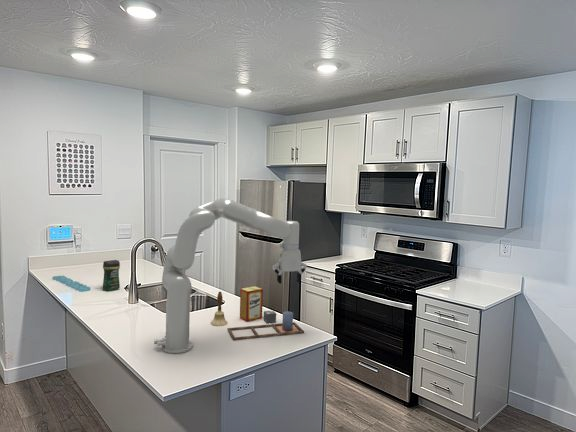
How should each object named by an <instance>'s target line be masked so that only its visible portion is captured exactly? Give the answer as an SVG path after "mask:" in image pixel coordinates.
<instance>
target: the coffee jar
mask: <svg viewBox="0 0 576 432" xmlns="http://www.w3.org/2000/svg"><path fill="white" fill-rule="evenodd" d="M102 265H103V266H102V269H103V281H102V290H103V291H105V292H110V291H111V292H112V291H117V290H120V286H121V284H120V271H119V270H120V268H121V264H120V260H117V259H113V260H104V261H103V264H102Z"/></svg>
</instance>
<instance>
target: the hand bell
mask: <svg viewBox="0 0 576 432" xmlns="http://www.w3.org/2000/svg"><path fill="white" fill-rule="evenodd" d="M216 301H217V311H215V313H214V317H213V319H212V320H211V321H210V325H211V326H214V327H222V326H223V327H224V326H226V325H228V321H227V320H226V317H225V312H224V311H222V303H223V294H222V291H218V294H217V299H216Z"/></svg>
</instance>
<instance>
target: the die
mask: <svg viewBox="0 0 576 432" xmlns="http://www.w3.org/2000/svg"><path fill="white" fill-rule="evenodd" d="M263 322H264V323H265V325H268V324H269V323H270V324H277V312H276V311H274V310H273V309H271V310H263Z"/></svg>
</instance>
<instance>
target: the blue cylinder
mask: <svg viewBox="0 0 576 432" xmlns="http://www.w3.org/2000/svg"><path fill="white" fill-rule="evenodd" d="M281 322H282V330H284V331H292V329H293V326H294V325H293V322H294V312H292V311H283V312H282V321H281Z"/></svg>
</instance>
